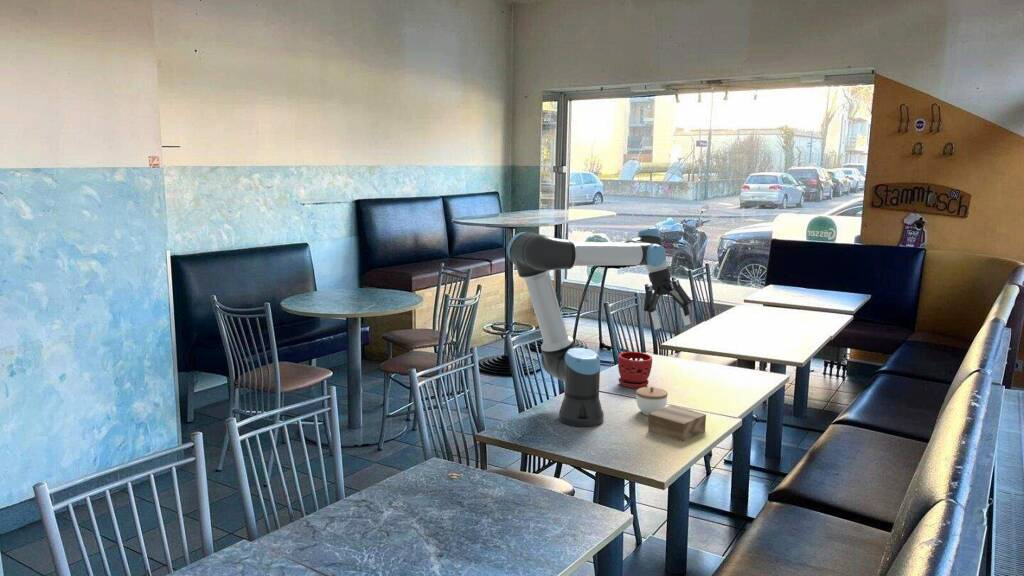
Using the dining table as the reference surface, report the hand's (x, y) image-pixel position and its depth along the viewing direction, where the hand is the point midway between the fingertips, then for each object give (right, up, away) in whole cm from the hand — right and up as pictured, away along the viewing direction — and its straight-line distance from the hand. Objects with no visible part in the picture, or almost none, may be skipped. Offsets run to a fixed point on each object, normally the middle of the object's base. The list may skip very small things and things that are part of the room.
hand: (672, 326), depth 264 cm
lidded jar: (-10, -30, -11) cm, 33 cm away
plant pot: (-10, -24, +22) cm, 34 cm away
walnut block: (-5, -33, -27) cm, 43 cm away
